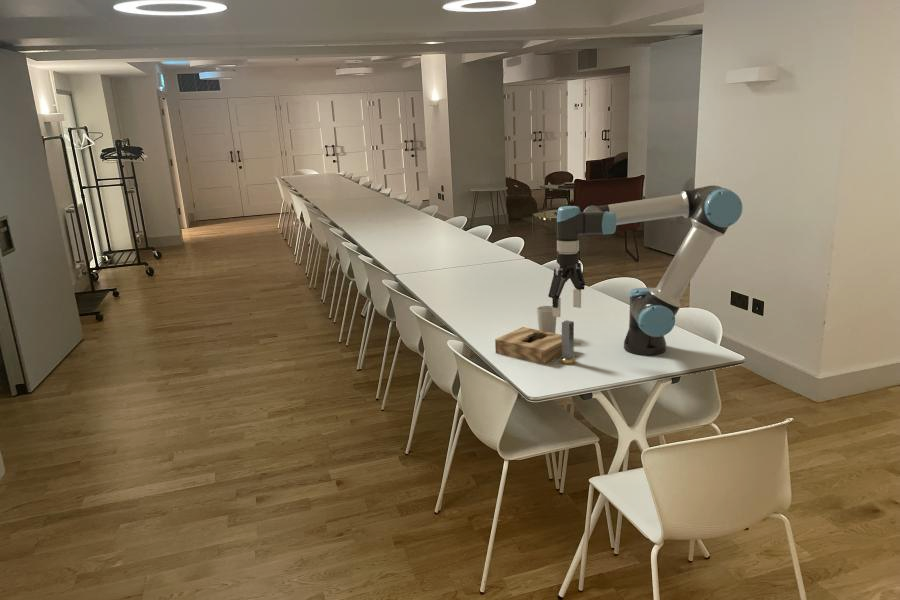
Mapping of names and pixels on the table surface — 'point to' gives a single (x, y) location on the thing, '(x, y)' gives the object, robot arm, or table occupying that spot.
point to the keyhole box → (530, 345)
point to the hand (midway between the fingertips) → (567, 311)
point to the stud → (567, 343)
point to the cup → (546, 319)
